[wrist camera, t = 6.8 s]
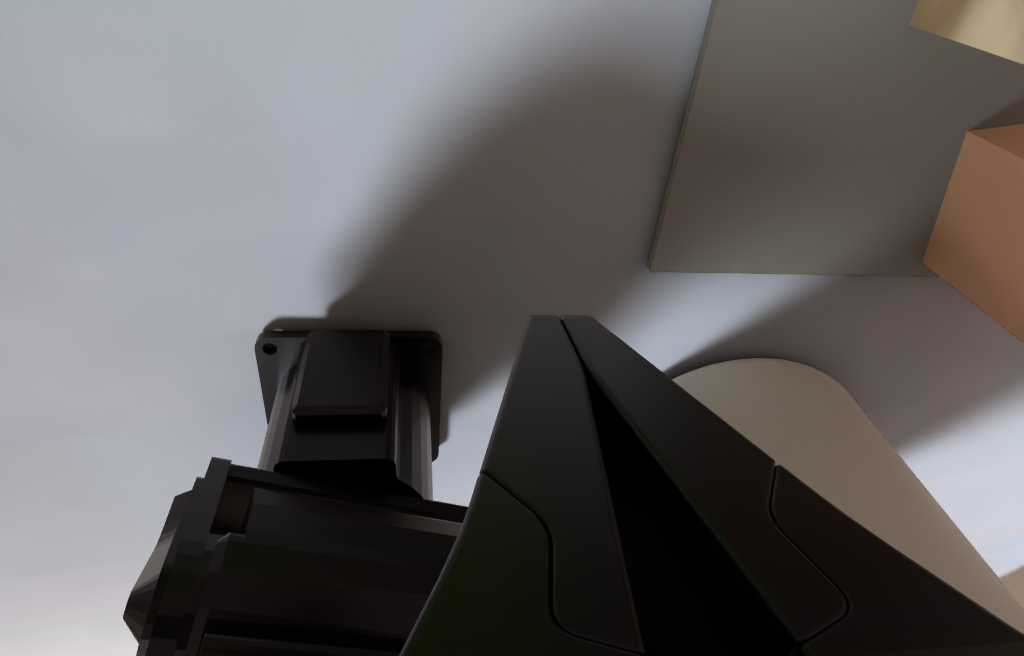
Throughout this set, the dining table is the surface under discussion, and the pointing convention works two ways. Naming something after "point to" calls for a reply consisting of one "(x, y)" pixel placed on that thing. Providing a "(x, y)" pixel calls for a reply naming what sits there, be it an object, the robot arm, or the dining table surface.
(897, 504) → the cylinder vase
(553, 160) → the dining table surface
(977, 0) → the plain block
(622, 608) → the robot arm
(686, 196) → the mat
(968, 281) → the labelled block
